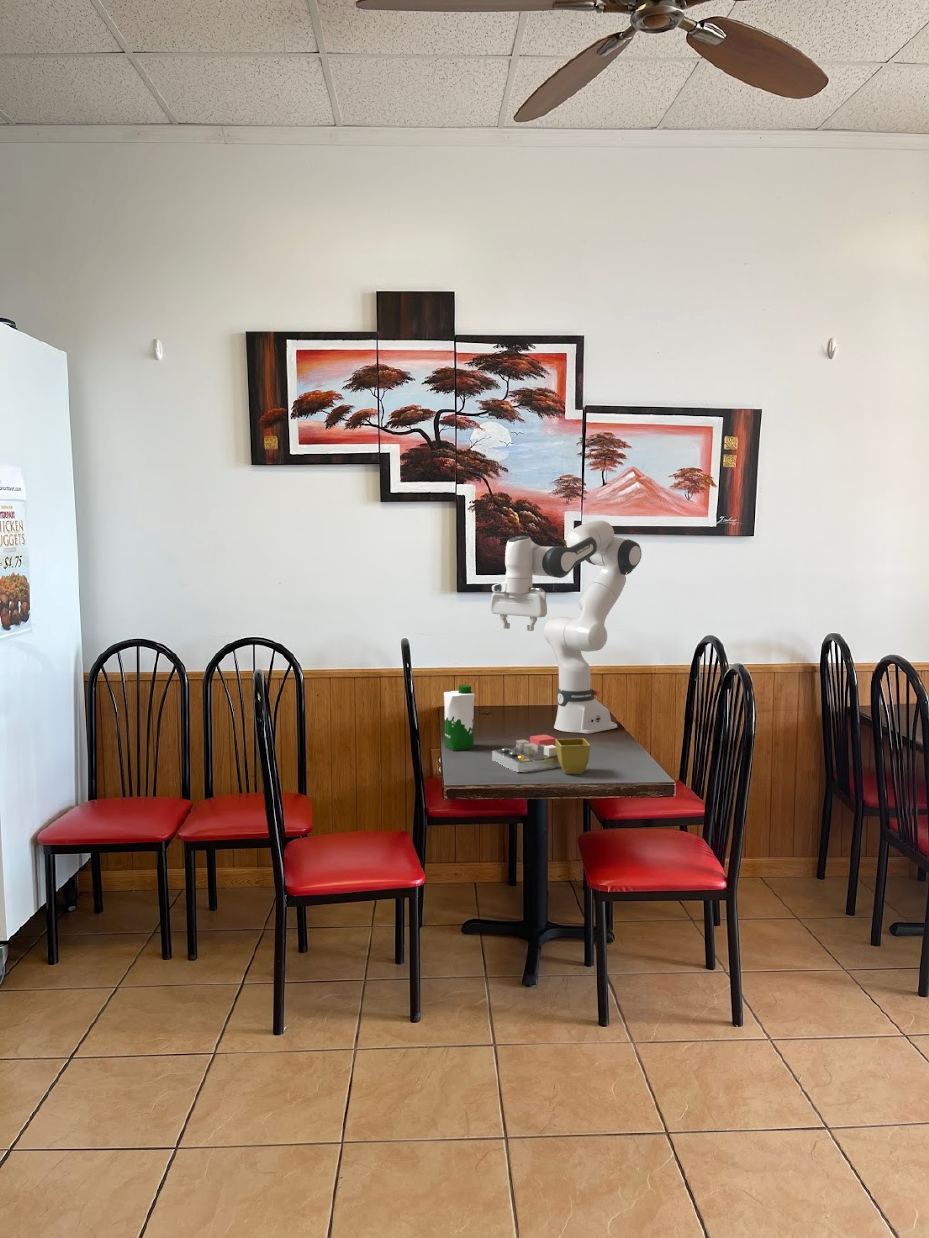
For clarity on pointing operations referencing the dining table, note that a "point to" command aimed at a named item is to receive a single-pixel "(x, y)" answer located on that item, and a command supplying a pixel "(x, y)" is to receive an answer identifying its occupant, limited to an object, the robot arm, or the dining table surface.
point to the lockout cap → (543, 740)
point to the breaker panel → (525, 757)
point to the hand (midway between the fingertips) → (518, 629)
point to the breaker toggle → (550, 750)
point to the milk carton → (459, 719)
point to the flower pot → (573, 755)
